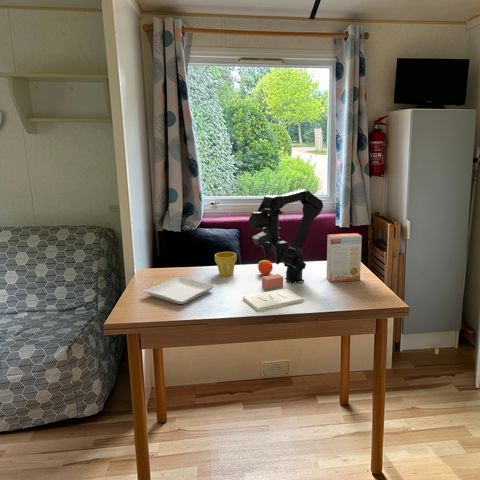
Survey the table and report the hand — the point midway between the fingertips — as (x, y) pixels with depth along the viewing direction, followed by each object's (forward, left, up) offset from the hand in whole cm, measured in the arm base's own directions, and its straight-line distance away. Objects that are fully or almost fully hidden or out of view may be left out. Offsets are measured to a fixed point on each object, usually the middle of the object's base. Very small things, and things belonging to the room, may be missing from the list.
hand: (272, 261), depth 170 cm
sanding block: (0, 0, -12) cm, 12 cm away
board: (+7, +13, -12) cm, 19 cm away
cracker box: (-33, +6, -12) cm, 36 cm away
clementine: (-5, -17, -12) cm, 21 cm away
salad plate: (+38, -11, -12) cm, 41 cm away
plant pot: (+11, -26, -12) cm, 31 cm away
